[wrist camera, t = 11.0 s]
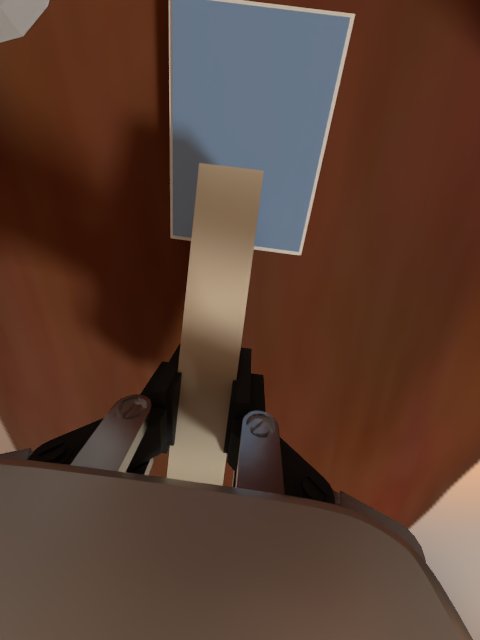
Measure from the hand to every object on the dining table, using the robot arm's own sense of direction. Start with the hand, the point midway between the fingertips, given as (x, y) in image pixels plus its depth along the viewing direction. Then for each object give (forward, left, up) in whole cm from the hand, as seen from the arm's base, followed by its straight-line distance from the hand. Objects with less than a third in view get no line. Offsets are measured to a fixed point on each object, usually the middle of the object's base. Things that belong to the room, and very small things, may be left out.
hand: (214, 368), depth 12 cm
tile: (+6, 0, -5) cm, 8 cm away
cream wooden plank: (0, 0, -1) cm, 1 cm away
